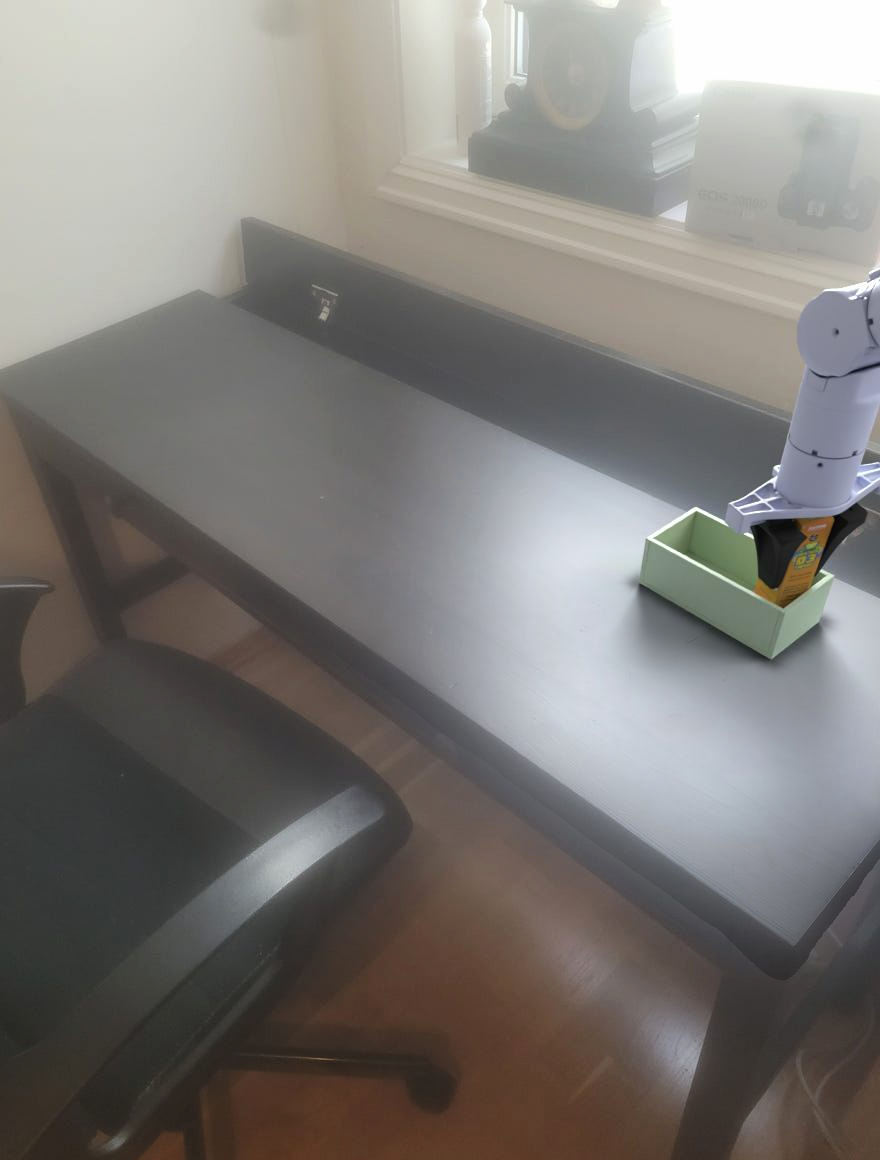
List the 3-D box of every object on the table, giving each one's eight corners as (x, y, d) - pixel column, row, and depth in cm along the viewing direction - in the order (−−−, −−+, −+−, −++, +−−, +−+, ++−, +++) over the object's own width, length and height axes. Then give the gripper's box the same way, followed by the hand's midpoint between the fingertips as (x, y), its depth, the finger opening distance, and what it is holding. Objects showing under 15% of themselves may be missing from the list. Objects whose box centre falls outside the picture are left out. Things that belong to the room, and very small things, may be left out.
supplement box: (773, 617, 79) (800, 524, 72) (752, 593, 82) (776, 502, 75) (806, 608, 80) (836, 516, 73) (784, 585, 82) (811, 494, 75)
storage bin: (819, 621, 83) (834, 575, 79) (771, 660, 80) (785, 613, 76) (686, 551, 92) (695, 506, 88) (638, 582, 89) (645, 538, 85)
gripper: (868, 397, 74) (825, 531, 83) (716, 437, 71) (689, 571, 80) (932, 437, 69) (880, 575, 78) (771, 481, 66) (736, 619, 75)
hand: (786, 576), depth 79 cm, fingers closed on supplement box, 3 cm apart
